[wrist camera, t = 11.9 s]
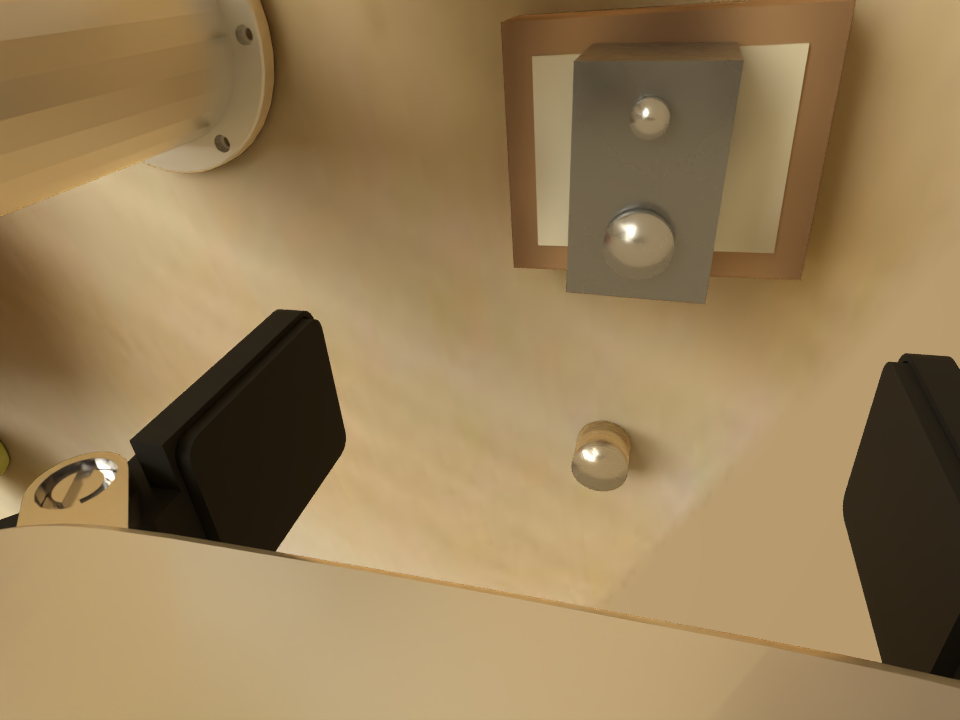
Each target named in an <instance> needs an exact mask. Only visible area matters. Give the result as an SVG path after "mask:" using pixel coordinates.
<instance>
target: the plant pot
mask: <svg viewBox="0 0 960 720" xmlns="http://www.w3.org/2000/svg"><path fill="white" fill-rule="evenodd" d="M8 464H9V456H8V454H7V451H6V450H5V448H4V446H3V445H2V443H1V441H0V476H1V475H2V474H3V473H4V472H5V470H6V468H7V466H8Z"/></svg>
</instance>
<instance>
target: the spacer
mask: <svg viewBox="0 0 960 720" xmlns="http://www.w3.org/2000/svg"><path fill="white" fill-rule="evenodd" d="M630 449H631V440H630V437H629V435H628V434H627V432H626V431H625V430H624V429H623V428H621V427H620V426H618V425H616V424H614V423H611V422H607V421H596V422H592V423H589V424H588V425H586V426H585V427H583V428H582V430H581V431H580V433H579V436H578V440H577V444H576V449H575V453H574V457H573V461H572V472H573V475H574V477H575V478H576V479H577V480H578V482H580V483H581V484H582V485H584V486H585V487H587V488H590V489H592V490H596V491H610V490H614V489H616V488H618V487H620V486H621V485H622V484H623V483H624V482H625V480H626V477H627V471H628V464H629V457H630Z"/></svg>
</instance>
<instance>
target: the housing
mask: <svg viewBox="0 0 960 720" xmlns="http://www.w3.org/2000/svg"><path fill="white" fill-rule="evenodd" d="M743 63H744V59H743V56H742V53H741V51H740V48H739V45H738V42H673V43H593V44H592V45H591V46H590V47H588V48H587V49H586V50H585V51H584V52H583V53H582V54H581V55H580V56H579V57H578V58H577V59H575V60H574V70H573V100H572V131H571V161H570V192H569V223H568V253H567V284H566V292H572V293H583V294H595V295H606V296H618V297H629V298H641V299H652V300H663V301H675V302H686V303H698V304H705V301H706V295H707V289H708V282H709V276H710V270H711V264H712V257H713V251H714V245H715V238H716V232H717V226H718V220H719V213H720V207H721V201H722V195H723V188H724V182H725V176H726V170H727V163H728V157H729V151H730V145H731V138H732V132H733V126H734V119H735V113H736V107H737V101H738V94H739V88H740V82H741V76H742V69H743Z"/></svg>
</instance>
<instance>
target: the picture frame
mask: <svg viewBox="0 0 960 720" xmlns="http://www.w3.org/2000/svg"><path fill="white" fill-rule="evenodd" d="M855 1H856V0H748V1H733V2H717V3H702V4H687V5H671V6H656V7H641V8H625V9H610V10H595V11H579V12H564V13H549V14H533V15H519V16H516V17H514V18H511V19H509V20H506V21H504V22H501V33H502V52H503V71H504V90H505V108H506V127H507V146H508V165H509V183H510V202H511V221H512V240H513V259H514V267H515V268H537V269H560V270H567V253H568V223H569V192H570V161H571V131H572V100H573V70H574V60H575V59H577V58H578V57H579V56H580V55H581V54H582V53H583V52H584V51H585V50H586V49H587V48H588V47H590V46H591V45H592V44H593V43H673V42H738V45H739V48H740V51H741V53H742V56H743V59H744V63H743V69H742V76H741V82H740V88H739V94H738V101H737V107H736V113H735V119H734V126H733V132H732V138H731V145H730V151H729V157H728V163H727V170H726V176H725V182H724V188H723V195H722V201H721V207H720V213H719V220H718V226H717V232H716V238H715V245H714V251H713V257H712V264H711V270H710V276H719V277H742V278H764V279H787V280H801V276H802V271H803V266H804V261H805V256H806V251H807V246H808V241H809V235H810V230H811V225H812V220H813V215H814V210H815V205H816V200H817V195H818V190H819V185H820V179H821V174H822V169H823V164H824V159H825V154H826V149H827V144H828V139H829V134H830V129H831V124H832V118H833V113H834V108H835V103H836V98H837V93H838V88H839V83H840V78H841V73H842V68H843V62H844V57H845V52H846V47H847V42H848V37H849V32H850V27H851V22H852V17H853V12H854V6H855Z"/></svg>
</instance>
